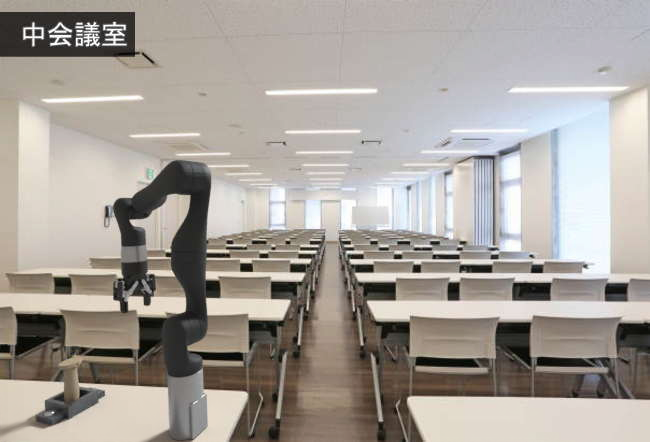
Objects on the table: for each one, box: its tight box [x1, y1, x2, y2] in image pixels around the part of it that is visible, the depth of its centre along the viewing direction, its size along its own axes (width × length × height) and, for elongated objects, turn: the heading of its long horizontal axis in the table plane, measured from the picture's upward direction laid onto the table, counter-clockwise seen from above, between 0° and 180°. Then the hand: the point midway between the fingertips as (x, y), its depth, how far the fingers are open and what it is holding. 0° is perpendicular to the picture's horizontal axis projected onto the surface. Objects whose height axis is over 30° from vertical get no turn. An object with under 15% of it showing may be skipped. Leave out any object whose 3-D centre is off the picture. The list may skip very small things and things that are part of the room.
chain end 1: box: [35, 390, 74, 426], centre depth 107 cm, size 10×12×4 cm
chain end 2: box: [70, 385, 106, 418], centre depth 111 cm, size 10×12×4 cm
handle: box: [57, 356, 83, 403], centre depth 109 cm, size 5×6×15 cm
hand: (136, 309), depth 112 cm, fingers open, 8 cm apart
